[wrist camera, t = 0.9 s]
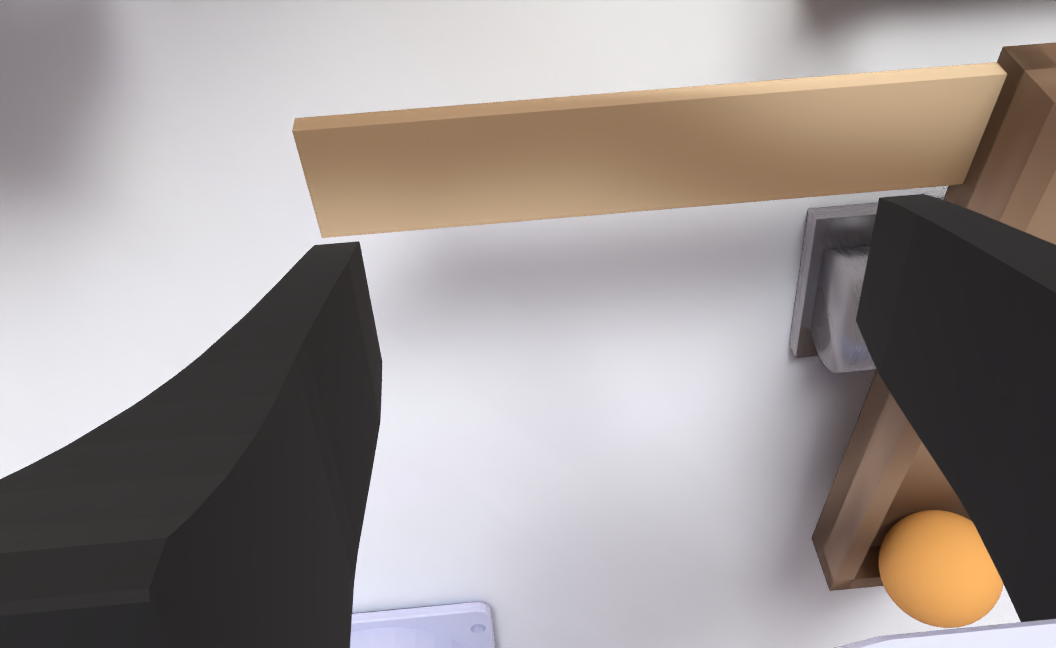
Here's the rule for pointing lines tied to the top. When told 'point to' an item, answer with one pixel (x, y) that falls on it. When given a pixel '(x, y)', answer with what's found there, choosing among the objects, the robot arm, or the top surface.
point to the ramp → (722, 196)
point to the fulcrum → (833, 287)
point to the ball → (939, 569)
